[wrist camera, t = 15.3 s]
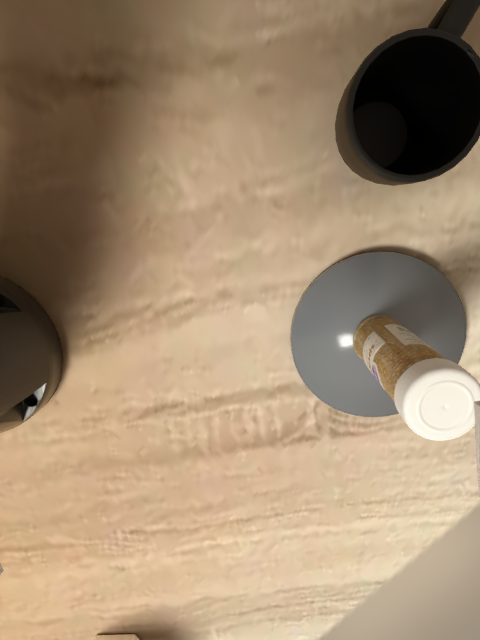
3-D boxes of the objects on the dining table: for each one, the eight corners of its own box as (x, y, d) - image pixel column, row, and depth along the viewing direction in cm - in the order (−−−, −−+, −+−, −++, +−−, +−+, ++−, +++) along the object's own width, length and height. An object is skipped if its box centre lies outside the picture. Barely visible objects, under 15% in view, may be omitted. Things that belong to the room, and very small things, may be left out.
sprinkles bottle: (341, 335, 36) (387, 401, 23) (384, 303, 36) (457, 352, 22) (372, 373, 37) (434, 458, 24) (415, 342, 36) (504, 413, 23)
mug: (475, 61, 32) (563, -1, 22) (391, 208, 35) (439, 206, 25) (381, 8, 31) (432, -78, 22) (303, 161, 34) (320, 142, 25)
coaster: (304, 423, 40) (305, 428, 39) (277, 268, 36) (278, 270, 35) (465, 398, 38) (471, 403, 37) (454, 235, 35) (460, 236, 34)
